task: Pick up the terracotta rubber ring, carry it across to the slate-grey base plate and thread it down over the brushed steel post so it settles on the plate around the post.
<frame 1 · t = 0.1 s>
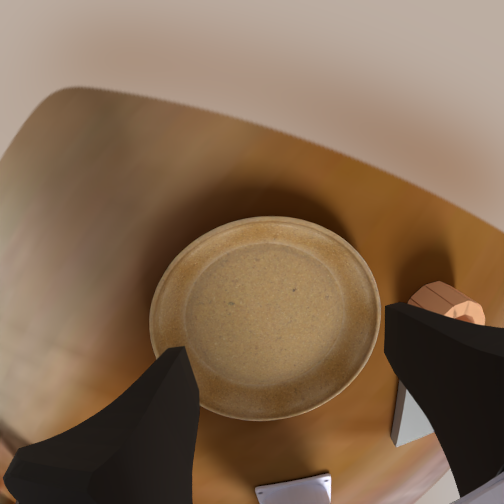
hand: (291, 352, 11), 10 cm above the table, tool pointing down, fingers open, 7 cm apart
ring: (429, 314, 22), on the table
plant saucer: (264, 317, 22), on the table
post base: (435, 389, 25), on the table
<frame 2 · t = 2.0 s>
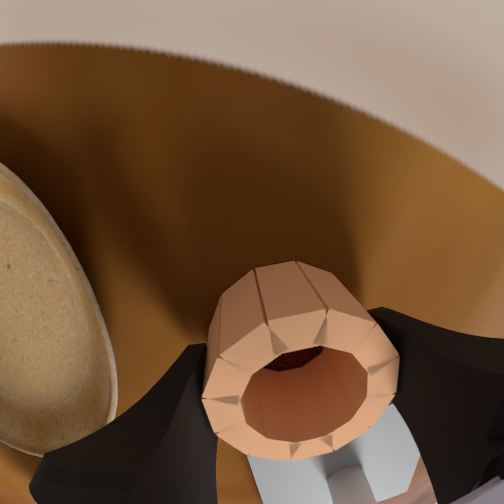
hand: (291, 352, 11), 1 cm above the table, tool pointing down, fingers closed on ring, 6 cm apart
ring: (285, 332, 12), on the table, touching gripper
post base: (338, 457, 14), on the table
when the fingers open (4 cm above the table, at t = 7.0 s): ring moves 1 cm, resting on post base.
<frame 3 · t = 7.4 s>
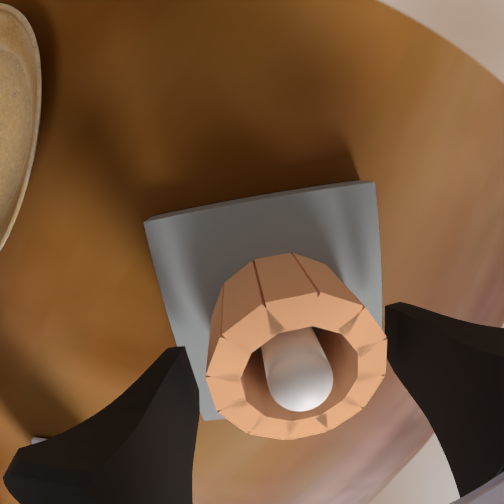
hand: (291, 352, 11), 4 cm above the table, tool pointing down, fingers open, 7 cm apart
ring: (282, 320, 13), point 1 cm above the table, touching post base
post base: (276, 306, 14), on the table
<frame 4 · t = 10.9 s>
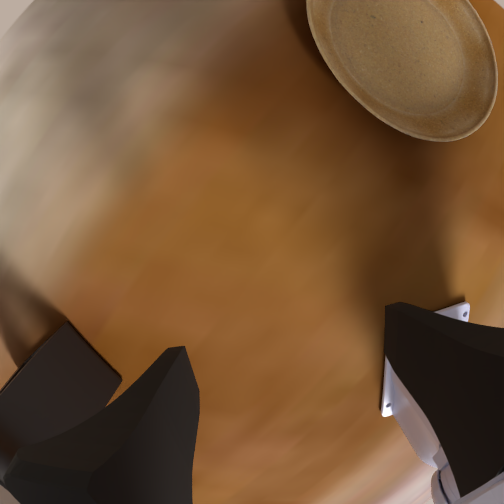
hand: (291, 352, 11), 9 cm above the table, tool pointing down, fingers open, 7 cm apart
phone stand: (65, 372, 21), on the table
plant saucer: (399, 43, 17), on the table
cylinder vase: (25, 489, 27), on the table
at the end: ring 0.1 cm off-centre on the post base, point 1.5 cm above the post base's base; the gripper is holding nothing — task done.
